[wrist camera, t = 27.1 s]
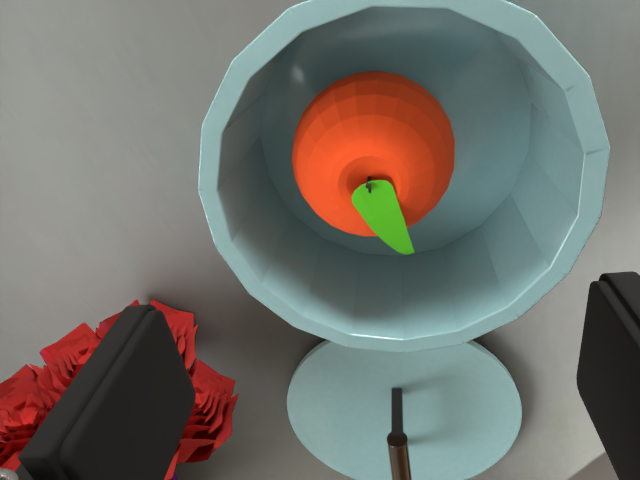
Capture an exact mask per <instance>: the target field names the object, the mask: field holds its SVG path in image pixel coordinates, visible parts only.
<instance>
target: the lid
mask: <svg viewBox="0 0 640 480" xmlns="http://www.w3.org/2000/svg"><path fill="white" fill-rule="evenodd" d="M287 412H288V417H289V420H290V423H291V426H292V428H293V430H294V432H295V434H296V435H297V437H298V439H299V440H300V441H301V442H302V444H303V445H304V446H305V447H306V448H307V449H308V450H309V451H310V452H311V453H312V454H313V455H314V456H315V457H316V458H318V459H319V460H320V461H321V462H323V463H324V464H326V465H327V466H329V467H330V468H332V469H334V470H336V471H338V472H340V473H342V474H344V475H346V476H349V477H351V478H354V479H356V480H466V479H469V478H471V477H474V476H476V475H477V474H479V473H481V472H483V471H485V470H487V469H488V468H490V467H491V466H492V465H494V464H495V463H496V462H498V461H499V460H500V459H501V458H502V457H503V456H504V455H505V454H506V453H507V451H508V450H509V449H510V448H511V446H512V445H513V443H514V441H515V440H516V438H517V435H518V433H519V430H520V427H521V421H522V404H521V400H520V396H519V392H518V389H517V387H516V384H515V382H514V380H513V378H512V376H511V375H510V373H509V372H508V370H507V369H506V367H505V366H504V365H503V364H502V363H501V362H500V361H499V360H498V359H497V358H496V357H495V356H494V355H493V354H492V353H490V352H489V351H488V350H487V349H486V348H484V347H483V346H481V345H479V344H478V343H476V342H474V341H473V340H471V341H468V342H466V343H463V344H459V345H453V346H447V347H441V348H435V349H428V350H422V351H416V352H410V353H405V352H404V353H399V352H389V351H379V350H369V349H359V348H349V347H348V346H347V347H345V346H342V345H340V344H337V343H334V342H332V341H329V340H325V341H323V342H321V343H320V344H318V345H317V346H316V347H314V348H313V349H312V350H311V351H310V352H309V353H307V355H306V356H305V357H304V358H303V359H302V360H301V361H300V363H299V364H298V366H297V368H296V369H295V371H294V373H293V375H292V378H291V380H290V384H289V388H288V393H287Z"/></svg>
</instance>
